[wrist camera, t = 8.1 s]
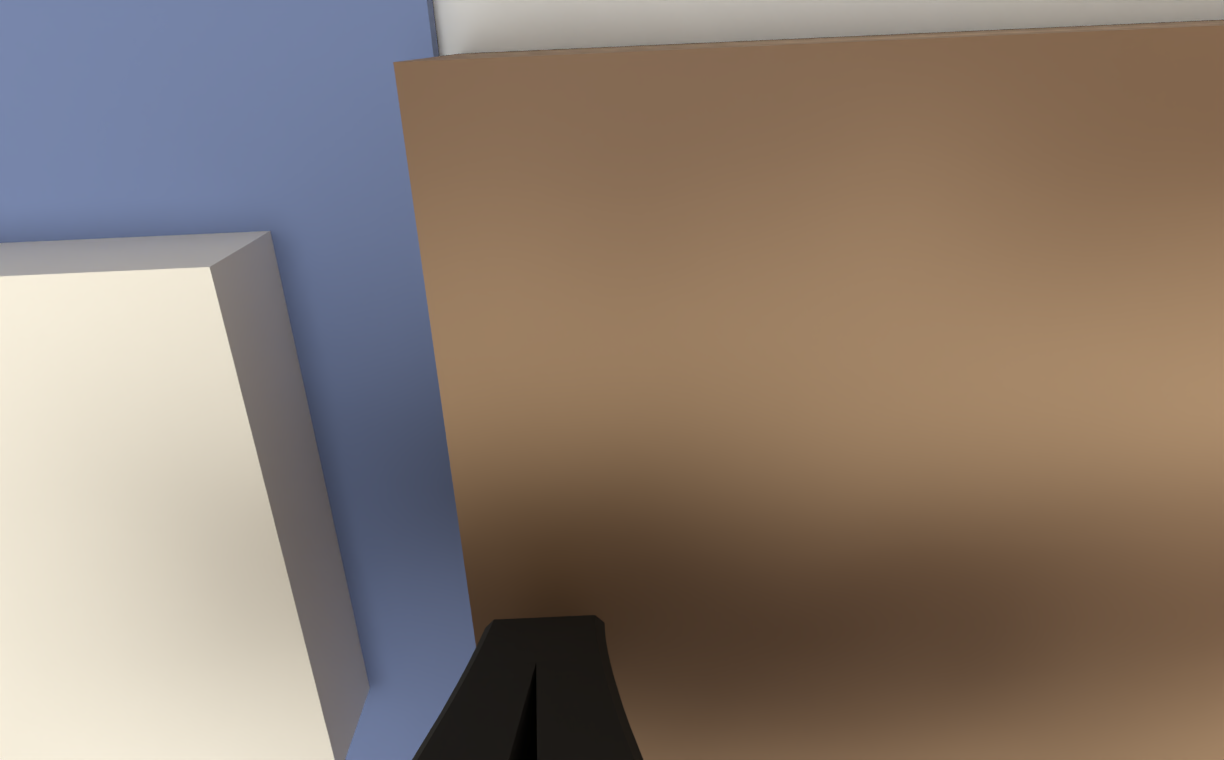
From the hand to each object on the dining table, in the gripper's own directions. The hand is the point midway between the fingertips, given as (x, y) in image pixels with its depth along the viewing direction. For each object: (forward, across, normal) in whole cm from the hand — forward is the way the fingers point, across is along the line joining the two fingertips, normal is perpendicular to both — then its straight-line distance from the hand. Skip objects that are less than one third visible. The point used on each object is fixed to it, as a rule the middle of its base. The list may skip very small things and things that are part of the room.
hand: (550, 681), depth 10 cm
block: (+2, +7, 0) cm, 7 cm away
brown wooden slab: (+5, -8, 0) cm, 9 cm away
